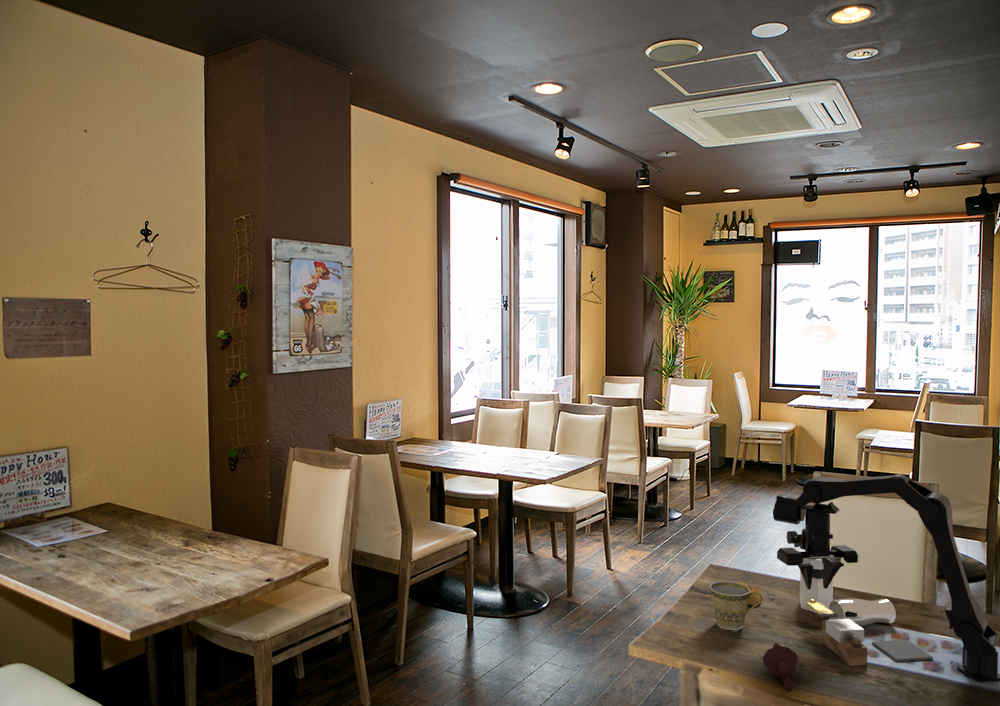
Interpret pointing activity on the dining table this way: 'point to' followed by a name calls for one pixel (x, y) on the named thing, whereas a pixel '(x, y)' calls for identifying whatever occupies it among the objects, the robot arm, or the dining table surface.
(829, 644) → the plane body
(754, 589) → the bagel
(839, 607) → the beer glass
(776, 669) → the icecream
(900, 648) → the mat
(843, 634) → the square block
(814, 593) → the jar
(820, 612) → the lever
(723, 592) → the ceramic cup
